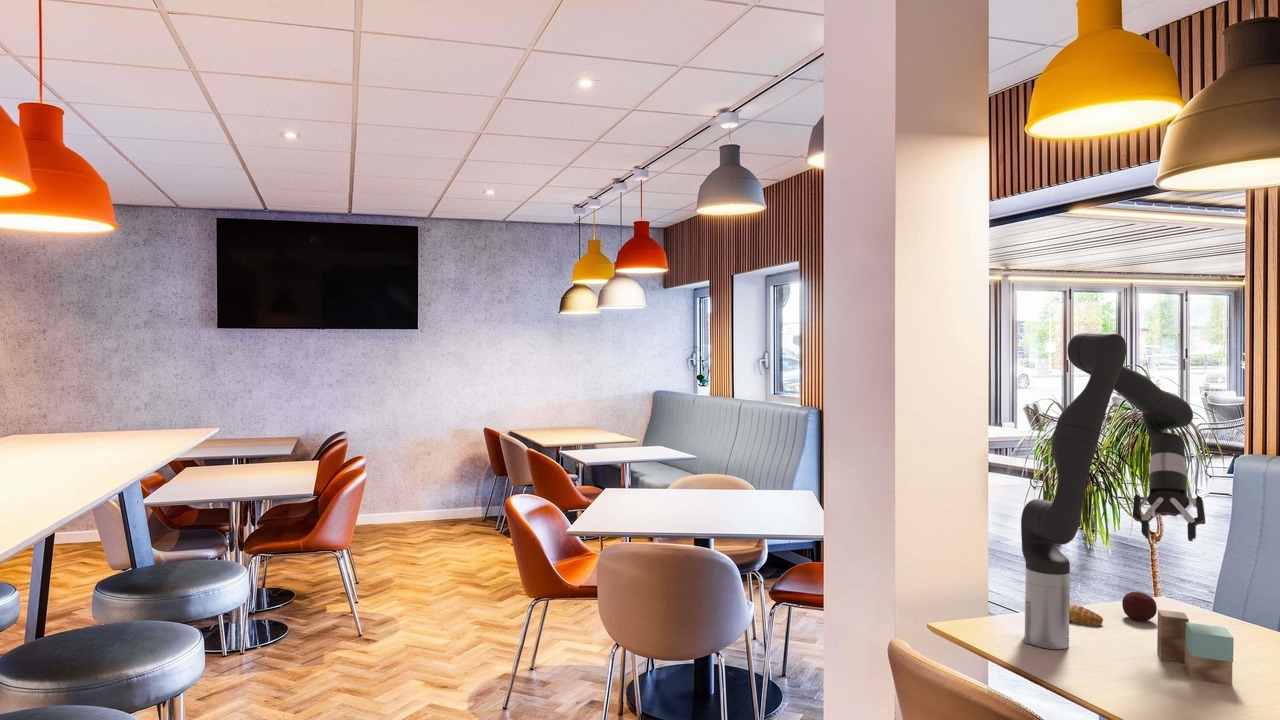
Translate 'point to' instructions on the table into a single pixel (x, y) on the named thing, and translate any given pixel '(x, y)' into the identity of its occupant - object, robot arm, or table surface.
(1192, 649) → the tower top
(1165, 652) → the post
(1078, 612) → the pastry
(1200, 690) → the table surface
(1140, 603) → the potato
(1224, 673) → the tower base
